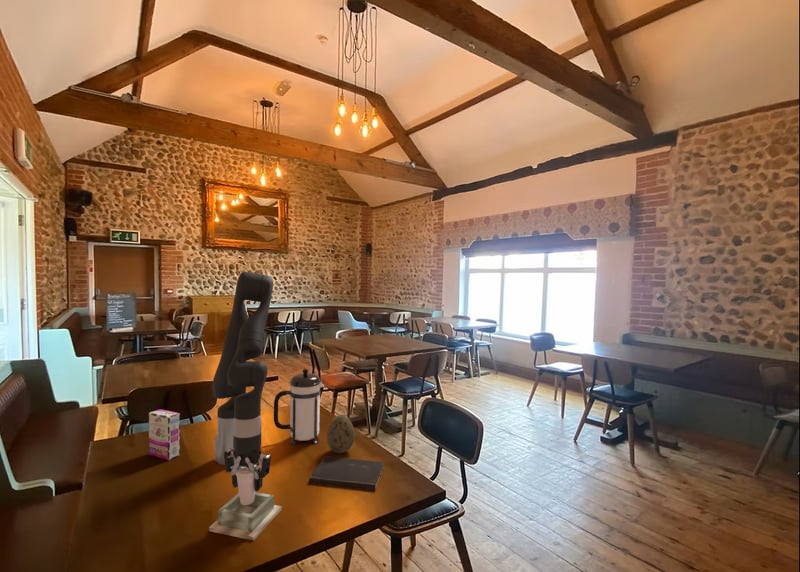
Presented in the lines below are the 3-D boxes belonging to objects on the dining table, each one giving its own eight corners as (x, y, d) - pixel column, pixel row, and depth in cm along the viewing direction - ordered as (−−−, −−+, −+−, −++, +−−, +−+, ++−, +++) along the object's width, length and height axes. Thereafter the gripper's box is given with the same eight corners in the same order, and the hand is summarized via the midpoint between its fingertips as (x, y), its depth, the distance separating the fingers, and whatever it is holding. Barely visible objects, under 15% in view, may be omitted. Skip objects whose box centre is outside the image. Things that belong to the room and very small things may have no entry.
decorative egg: (346, 461, 149) (346, 422, 148) (321, 455, 153) (321, 417, 152) (358, 448, 159) (359, 412, 158) (335, 444, 163) (335, 408, 162)
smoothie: (236, 510, 109) (236, 461, 108) (234, 498, 115) (234, 451, 114) (260, 504, 112) (261, 456, 111) (257, 492, 118) (257, 446, 117)
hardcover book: (325, 462, 149) (325, 456, 149) (384, 468, 146) (384, 462, 145) (308, 484, 133) (308, 478, 133) (375, 492, 130) (375, 485, 130)
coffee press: (304, 427, 178) (305, 362, 177) (329, 437, 169) (330, 368, 167) (272, 441, 164) (272, 370, 163) (297, 452, 155) (298, 377, 153)
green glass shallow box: (208, 531, 108) (208, 513, 108) (240, 501, 122) (240, 486, 122) (253, 540, 105) (254, 522, 105) (281, 509, 119) (281, 493, 119)
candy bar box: (180, 455, 151) (180, 412, 150) (168, 461, 146) (168, 417, 145) (160, 449, 155) (160, 408, 154) (148, 454, 150) (147, 412, 149)
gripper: (216, 433, 110) (216, 491, 111) (262, 439, 107) (262, 499, 108) (233, 423, 118) (233, 477, 119) (277, 428, 114) (276, 484, 115)
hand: (247, 487), depth 113 cm, fingers closed on smoothie, 6 cm apart
